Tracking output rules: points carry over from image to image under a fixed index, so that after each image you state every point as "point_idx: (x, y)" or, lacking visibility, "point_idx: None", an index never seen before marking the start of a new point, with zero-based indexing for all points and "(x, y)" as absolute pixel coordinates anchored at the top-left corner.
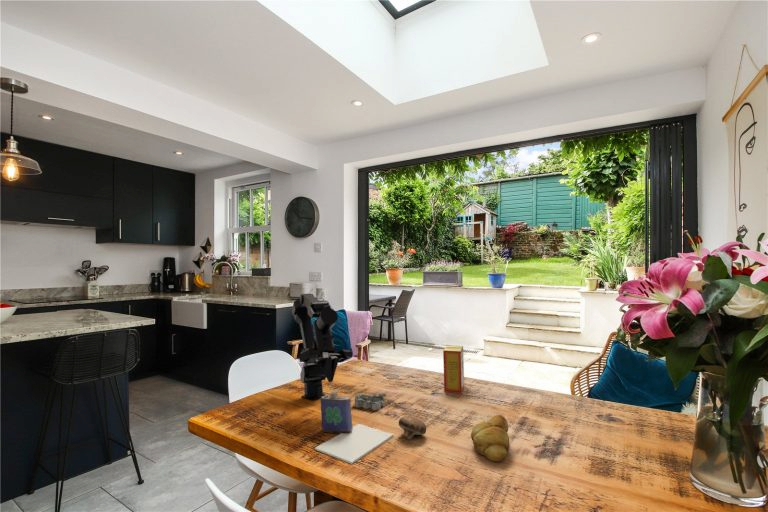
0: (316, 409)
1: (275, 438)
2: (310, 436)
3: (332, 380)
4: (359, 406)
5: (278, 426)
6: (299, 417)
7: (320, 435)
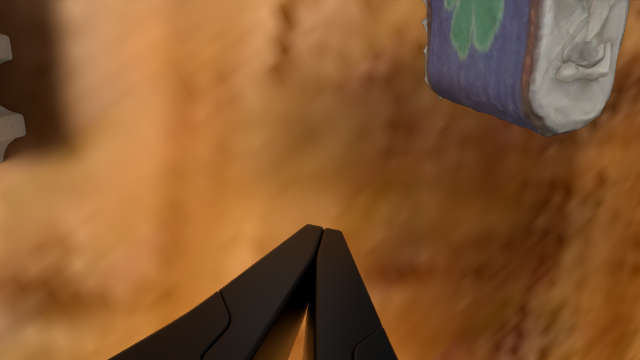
0: None
1: (632, 252)
2: None
3: (313, 228)
4: (5, 109)
5: (516, 345)
6: None
7: None
